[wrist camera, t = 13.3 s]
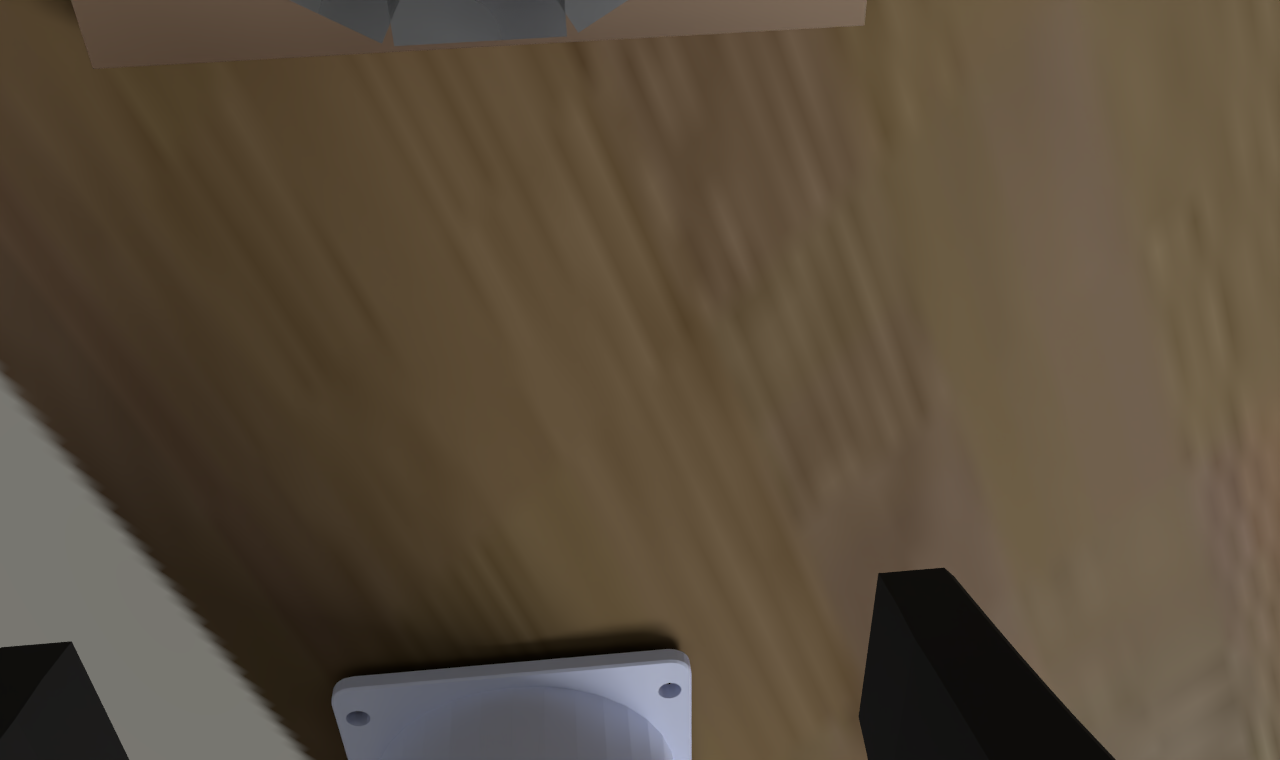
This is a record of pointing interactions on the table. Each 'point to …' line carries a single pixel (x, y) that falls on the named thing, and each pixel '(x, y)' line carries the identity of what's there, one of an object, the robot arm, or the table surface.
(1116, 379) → the table surface
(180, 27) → the socket board
